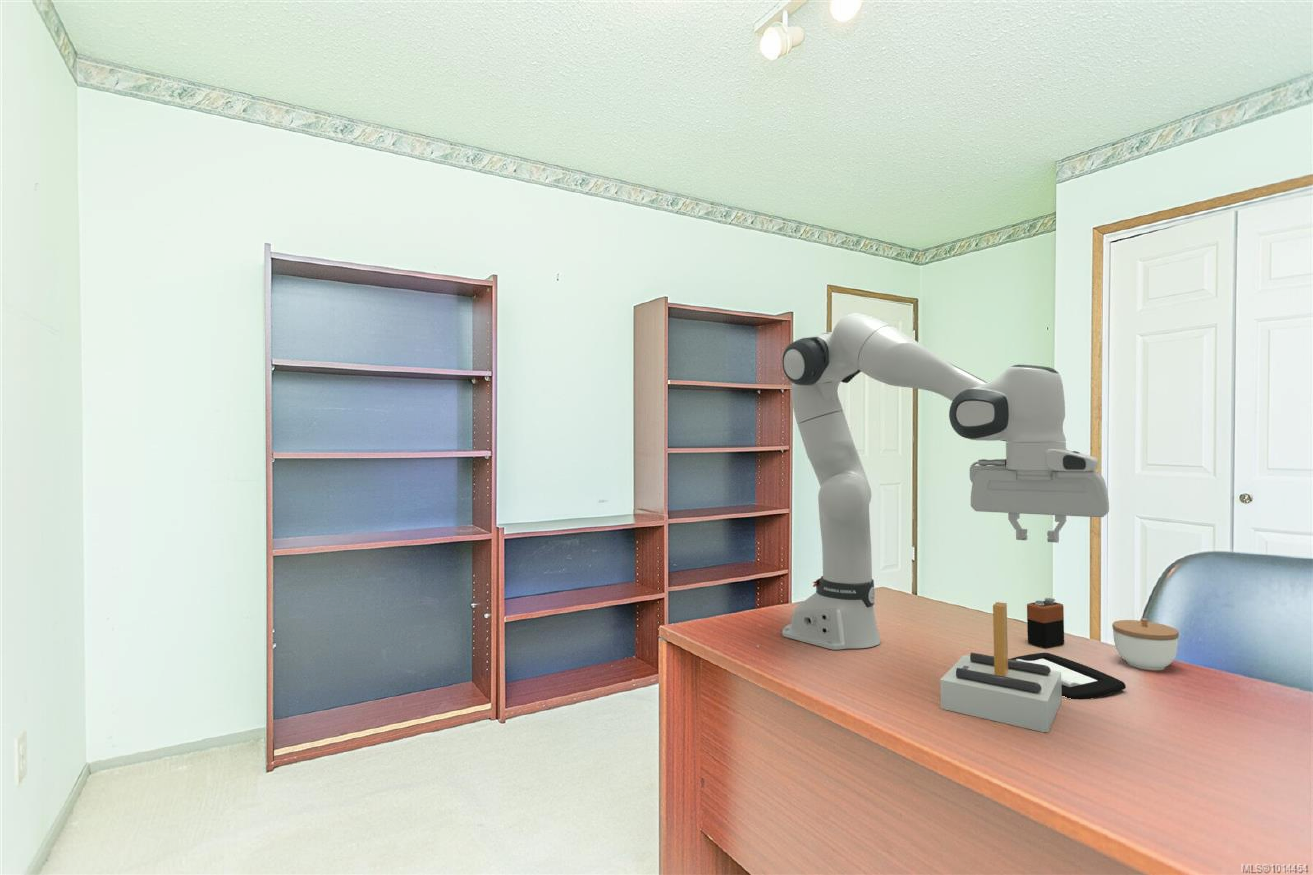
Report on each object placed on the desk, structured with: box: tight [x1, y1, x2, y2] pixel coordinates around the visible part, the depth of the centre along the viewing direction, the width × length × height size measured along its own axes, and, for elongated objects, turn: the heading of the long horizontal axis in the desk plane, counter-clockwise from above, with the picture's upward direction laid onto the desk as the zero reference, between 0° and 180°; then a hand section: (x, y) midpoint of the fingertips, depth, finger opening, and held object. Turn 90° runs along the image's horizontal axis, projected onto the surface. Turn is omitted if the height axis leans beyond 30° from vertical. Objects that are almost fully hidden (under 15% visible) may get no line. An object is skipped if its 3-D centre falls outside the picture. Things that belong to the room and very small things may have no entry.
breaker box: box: [939, 652, 1063, 734], centre depth 113 cm, size 16×16×7 cm
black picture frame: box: [1010, 652, 1127, 700], centre depth 125 cm, size 20×3×14 cm
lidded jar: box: [1111, 618, 1180, 672], centre depth 131 cm, size 11×11×9 cm
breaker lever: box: [992, 601, 1009, 676], centre depth 114 cm, size 2×3×12 cm, turn 141°
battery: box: [1026, 597, 1065, 649], centre depth 146 cm, size 4×7×10 cm, turn 113°
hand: (1037, 540), depth 110 cm, fingers open, 3 cm apart
